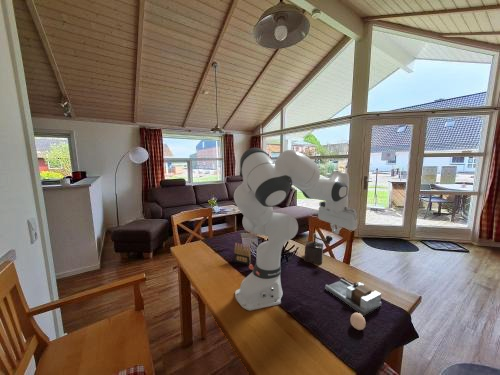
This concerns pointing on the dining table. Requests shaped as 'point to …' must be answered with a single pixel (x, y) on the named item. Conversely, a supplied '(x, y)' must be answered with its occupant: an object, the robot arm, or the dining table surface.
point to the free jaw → (352, 290)
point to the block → (360, 292)
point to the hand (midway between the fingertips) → (335, 233)
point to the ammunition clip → (242, 254)
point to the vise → (365, 306)
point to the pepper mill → (315, 250)
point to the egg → (358, 321)
